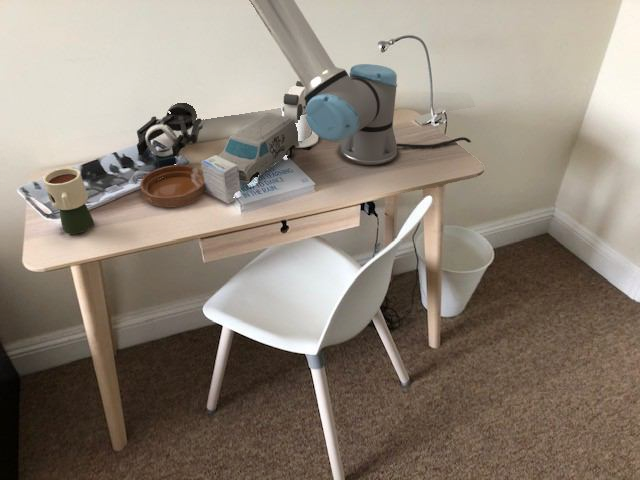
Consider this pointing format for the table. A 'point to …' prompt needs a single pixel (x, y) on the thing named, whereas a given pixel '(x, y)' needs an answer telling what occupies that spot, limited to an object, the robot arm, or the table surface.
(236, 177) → the medicine box
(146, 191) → the bowl
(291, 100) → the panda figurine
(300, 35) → the robot arm
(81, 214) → the character mug
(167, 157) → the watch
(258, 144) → the toy car
